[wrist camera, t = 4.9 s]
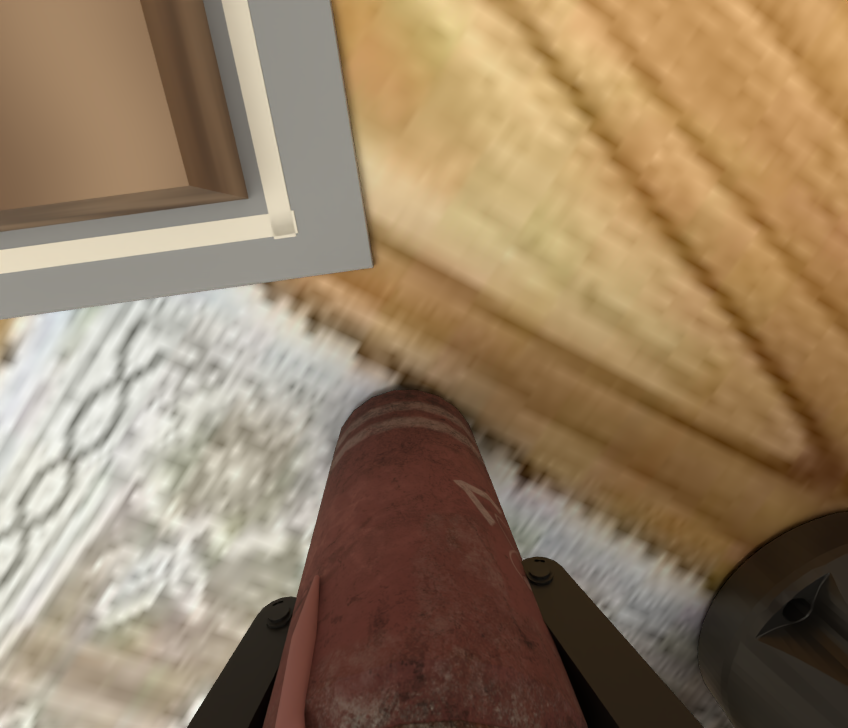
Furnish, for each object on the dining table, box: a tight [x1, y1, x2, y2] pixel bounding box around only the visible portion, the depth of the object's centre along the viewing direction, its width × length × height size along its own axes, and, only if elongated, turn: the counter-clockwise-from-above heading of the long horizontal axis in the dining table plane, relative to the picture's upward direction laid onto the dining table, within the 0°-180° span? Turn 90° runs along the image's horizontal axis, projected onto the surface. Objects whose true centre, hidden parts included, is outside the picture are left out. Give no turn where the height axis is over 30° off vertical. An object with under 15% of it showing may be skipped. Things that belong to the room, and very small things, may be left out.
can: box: [262, 390, 588, 728], centre depth 14 cm, size 6×6×14 cm
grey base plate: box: [0, 0, 374, 319], centre depth 15 cm, size 18×16×1 cm
